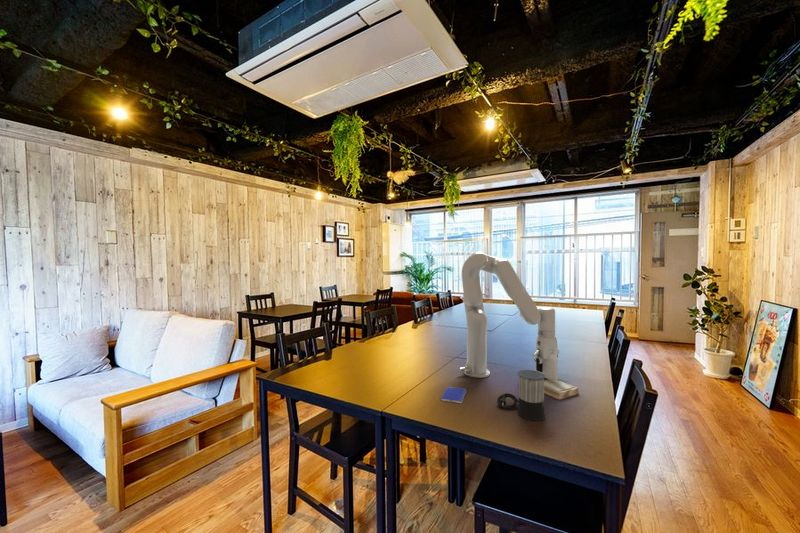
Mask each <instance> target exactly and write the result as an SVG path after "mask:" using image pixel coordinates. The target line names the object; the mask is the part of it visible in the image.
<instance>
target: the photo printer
mask: <svg viewBox="0 0 800 533" xmlns="http://www.w3.org/2000/svg"><path fill="white" fill-rule="evenodd" d="M540 357H541V356H540ZM540 359H541V358H539V360H540ZM558 362H559V360H558V357H557V355H555V354H551V355H550V357H549V359H543V361H542V364H543V372H540V373H542V374H544V375H545V378H544V379H546V380H549V379H553V378H554V379H556V380H559V379H558V378H559V372H558V370H559V368H558V366H559V363H558ZM534 371H537V370H536V362H535V361H534ZM537 372H539V371H537Z"/></svg>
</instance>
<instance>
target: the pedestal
mask: <svg viewBox="0 0 800 533" xmlns="http://www.w3.org/2000/svg"><path fill="white" fill-rule="evenodd" d="M545 394H546V395H547V396H550V397H552V398H554V399H557V400H563V399H566V398H569V397H572V396H576V395H579V387H578V386H574V385H572V384H570V383H567V382H563V381H561V380H559V379H558V380H556V379H554V378H553V379H544V395H545Z"/></svg>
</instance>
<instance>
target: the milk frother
mask: <svg viewBox="0 0 800 533" xmlns="http://www.w3.org/2000/svg"><path fill="white" fill-rule="evenodd" d="M517 375H518V398H517V397H516V396H515V395H514V394H512V393H509V392H507V393H502V394H500V395H499V396H498V397H497V399H496V403H497V405H498V406H499V407H500V408H503V409H508V410H512V409H514V408H516V407H517V405H518V409H517V414H518V415H519V416H520V417H521V418H523V419H525V420H526V419H527V420H528V421H541V420H544V419H545V418H546V415H545V393H544V381H545V379H546V378H545V375H544V374H542V373H540V372H537V371H535V370H531V369H523V370H519V371H518V372H517ZM506 398H510V399H511V400H512V401H513V403H512V404H509V405H507V401H506V400H507V399H506Z"/></svg>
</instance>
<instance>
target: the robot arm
mask: <svg viewBox="0 0 800 533" xmlns="http://www.w3.org/2000/svg"><path fill="white" fill-rule="evenodd" d="M481 271H483V272H487V273H489V274H493V275H495V276H496V278H497V279H498V281H499V283H500V285H501V287H503V289H504V291H505V293H506V295H507V296H508V297H509V298H510V299H511V300H512V301H513V303H514V304H515V306H516V307H517V309H518V311H519V316H520V318H521V319H522V320H523V321H524V322H525V323H526V324H528V325H530V326H535V325H537V337H536V342H535V352H534V353H533V354H532V357H533V360H534V363H535V362H536V370H537V371H539V372H543V364H542V361H543V359H549V357H550V355H551V354H555V355H557V358H558V357H559V354H560V350H559V348H558V339H557V336H556V310H555V309H554V308H553V307H550V306H541V307H540V306H539V307H537V305H536V303H535V302H534V300H533V299H532V297H531V295H530V294H529V292H528V291H527V289H526V287H525V286H524V284H523V282H522V281H521V279H520V277H519V276H518V274H517V273H516V271H515V269H514V267H513V265H512V264H511V262H510V261H509V260H507V259H505V258H500V257H497V256H492V255H489V254H486V253H485V252H483V251H475V252H473V253H472V254H471V255H470V256H469V257H468V258H467V259H465V261H464V263H463V265H462V267H461V281H462V282H461V283H462V290H463V293H462V294H463V295H462V296H463V297H462V298H463V304H464V311H465V315H466V316H465V317H466V363H464V364H465V365H464V366H463V367H459V368H458V372H460V373H461V372H463V374H464V375H466V376H468V377H471V378H475V379H476V378H477V379H478V378H479V379H482V378H488V377H489V376H490V374H491V372H490V370H489V369H488V368H487V367H488V364H487V363H488V361H487V358H488V357H487V356H488V355H487V354H488V352H487V351H488V350H487V349H488V347H487V345H488V344H487V343H488V342H487V341H488V340H487V338H488V337H487V335H488V318H487V315H486V313H485V306H484V301H483V300H484V295H483V292H482V287H481V280H480V279H481V278H480V272H481ZM540 356H541V357H540ZM539 358H541V359H540V360H539Z"/></svg>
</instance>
